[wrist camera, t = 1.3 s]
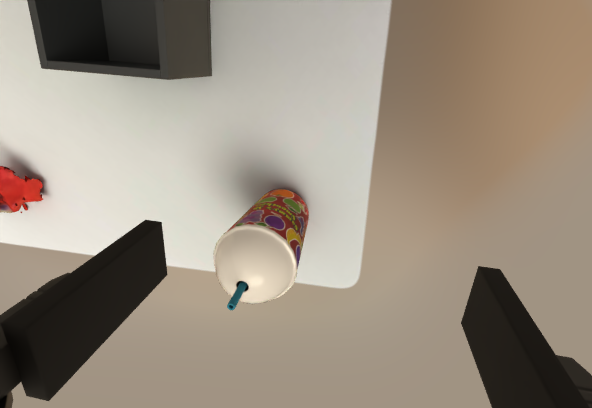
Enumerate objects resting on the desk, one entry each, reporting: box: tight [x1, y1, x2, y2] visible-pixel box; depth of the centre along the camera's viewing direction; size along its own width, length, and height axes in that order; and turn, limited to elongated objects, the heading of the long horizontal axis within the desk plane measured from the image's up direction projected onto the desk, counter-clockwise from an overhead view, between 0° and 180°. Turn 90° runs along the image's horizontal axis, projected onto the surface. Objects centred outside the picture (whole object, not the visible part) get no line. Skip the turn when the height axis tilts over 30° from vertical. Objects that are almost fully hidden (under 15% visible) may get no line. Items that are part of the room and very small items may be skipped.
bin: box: [27, 0, 212, 80], centre depth 35 cm, size 14×14×10 cm
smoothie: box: [213, 189, 308, 310], centre depth 36 cm, size 8×8×20 cm
